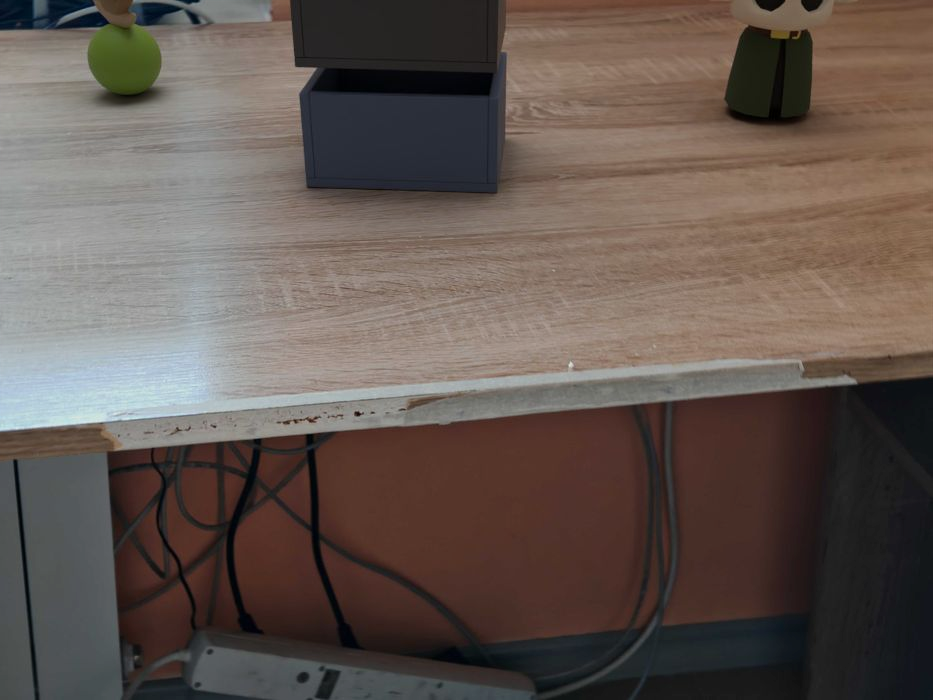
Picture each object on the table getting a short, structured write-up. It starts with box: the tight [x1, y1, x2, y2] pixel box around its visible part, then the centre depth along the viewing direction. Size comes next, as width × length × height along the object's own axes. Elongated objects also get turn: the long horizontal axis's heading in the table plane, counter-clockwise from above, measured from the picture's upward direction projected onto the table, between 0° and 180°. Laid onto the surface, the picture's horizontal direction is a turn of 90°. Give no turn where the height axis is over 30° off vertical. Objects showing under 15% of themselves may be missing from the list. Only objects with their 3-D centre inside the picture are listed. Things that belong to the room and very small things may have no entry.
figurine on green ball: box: [86, 0, 163, 96], centre depth 82 cm, size 5×6×12 cm
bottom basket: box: [298, 51, 508, 194], centre depth 70 cm, size 12×10×6 cm
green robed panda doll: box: [709, 0, 859, 119], centre depth 77 cm, size 11×7×13 cm, turn 87°
